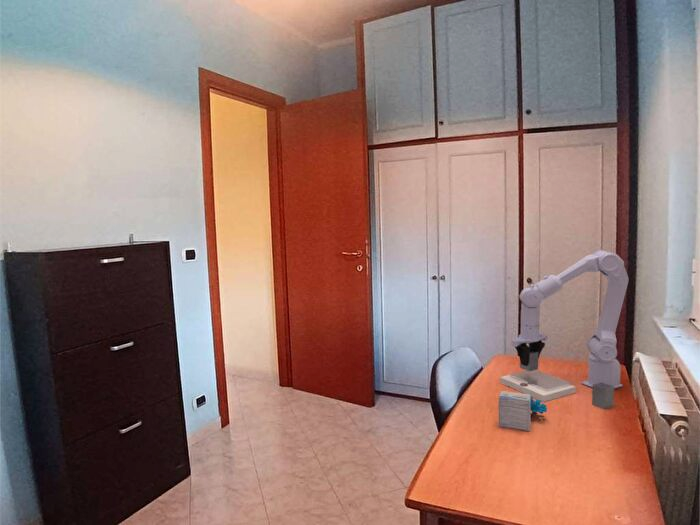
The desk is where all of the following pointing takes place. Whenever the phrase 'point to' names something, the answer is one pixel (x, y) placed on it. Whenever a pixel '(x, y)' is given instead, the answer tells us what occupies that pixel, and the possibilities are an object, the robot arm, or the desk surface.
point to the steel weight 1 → (531, 361)
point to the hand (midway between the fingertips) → (529, 363)
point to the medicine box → (514, 410)
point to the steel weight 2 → (603, 395)
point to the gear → (537, 406)
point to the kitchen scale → (538, 385)
